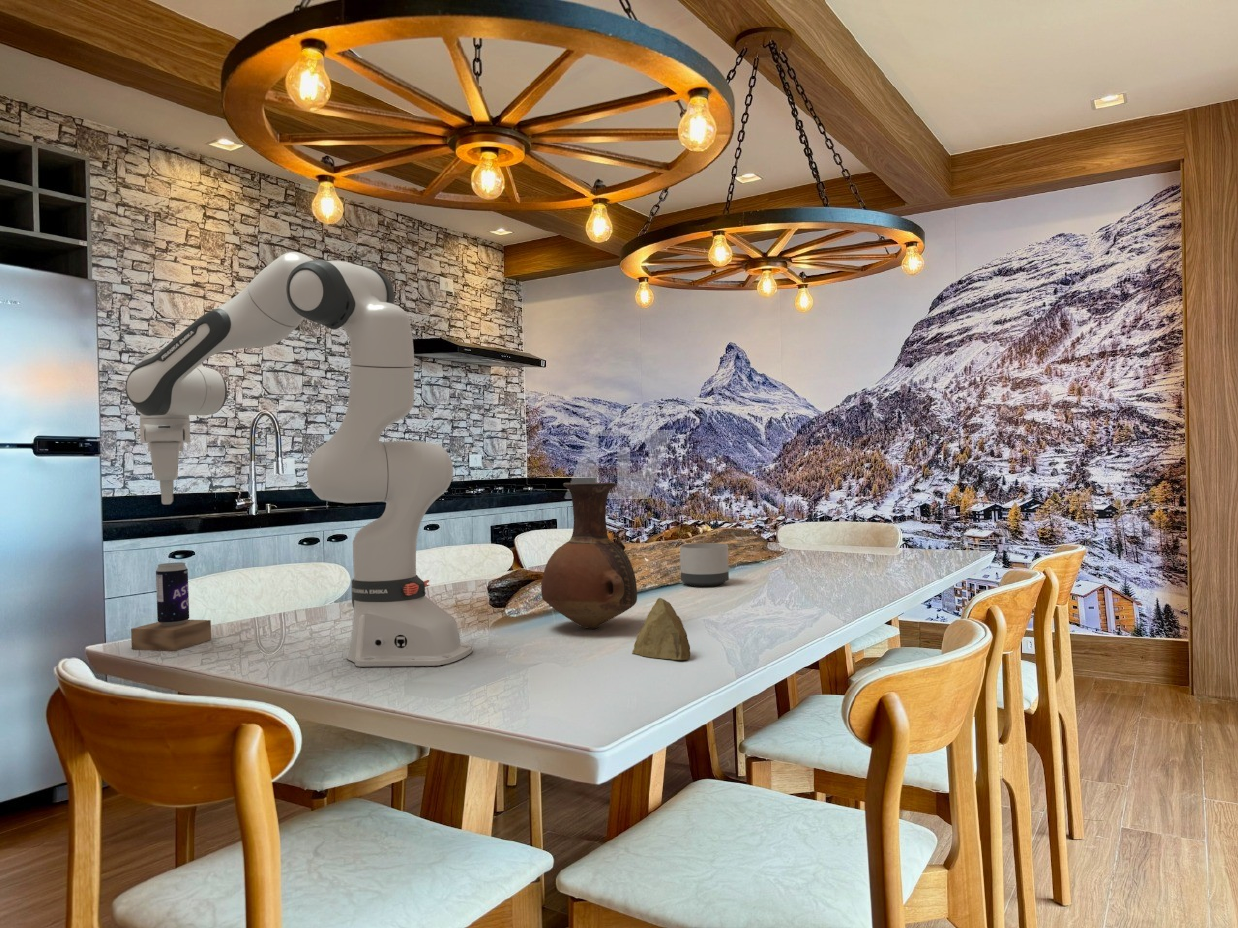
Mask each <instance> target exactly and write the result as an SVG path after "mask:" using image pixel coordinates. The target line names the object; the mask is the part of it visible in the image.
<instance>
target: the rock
mask: <svg viewBox="0 0 1238 928" xmlns="http://www.w3.org/2000/svg"><path fill="white" fill-rule="evenodd" d="M643 622H644V623H643V626H642V627H641V629H640V630H639V632H638V634H637V636H636V639H635V642H634V645H633V649H632V653H631V654H632V655H638V656H641V657H645V658H653V659H663V660H672V661H673V660H674V661H685V660H686V661H687V660H690V659H691V645H690V643H689V638H688V634H687V631H686V630H685V629H686V628H685V627H684V624H683V621H682V620H681V618H680V616H679V615H678V614H677V612H676V611H675V608H674V607H673V605H672V604H671V603H670V602H669V601H667V600H665V599H663V598H661V597H658V598H657V600H656V602H655V603H654V605H652V608H651V609H650V610H649V612H648V614H647V616H646V619H645V620H644V621H643Z"/></svg>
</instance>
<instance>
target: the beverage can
mask: <svg viewBox="0 0 1238 928" xmlns="http://www.w3.org/2000/svg"><path fill="white" fill-rule="evenodd" d="M157 566H158V567H157V569H156V571H155V586H156V587H155V588H156V613H157V614H156V615H157V617H156V618H157V619H156V621H157V622H159V623H161V624H162V625H163V626H174V625H180V624H184V623H185V622H186V621H187V620H190V597H189V594H190V593H189V570H188V567H187V565H186V562H178V561H177V562H166V563H160V564H158V565H157Z"/></svg>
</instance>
